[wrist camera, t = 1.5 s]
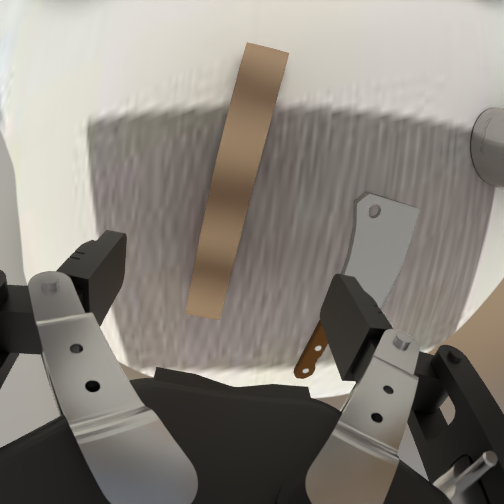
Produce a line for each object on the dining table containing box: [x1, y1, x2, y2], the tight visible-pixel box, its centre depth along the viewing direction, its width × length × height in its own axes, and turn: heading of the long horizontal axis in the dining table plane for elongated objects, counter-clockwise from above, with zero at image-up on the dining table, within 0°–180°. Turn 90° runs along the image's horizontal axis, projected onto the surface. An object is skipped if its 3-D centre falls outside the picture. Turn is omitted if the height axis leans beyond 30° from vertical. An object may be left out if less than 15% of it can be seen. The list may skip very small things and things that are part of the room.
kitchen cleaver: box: [294, 192, 420, 379], centre depth 35 cm, size 24×1×10 cm
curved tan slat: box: [186, 43, 289, 320], centre depth 26 cm, size 22×3×6 cm, turn 166°
